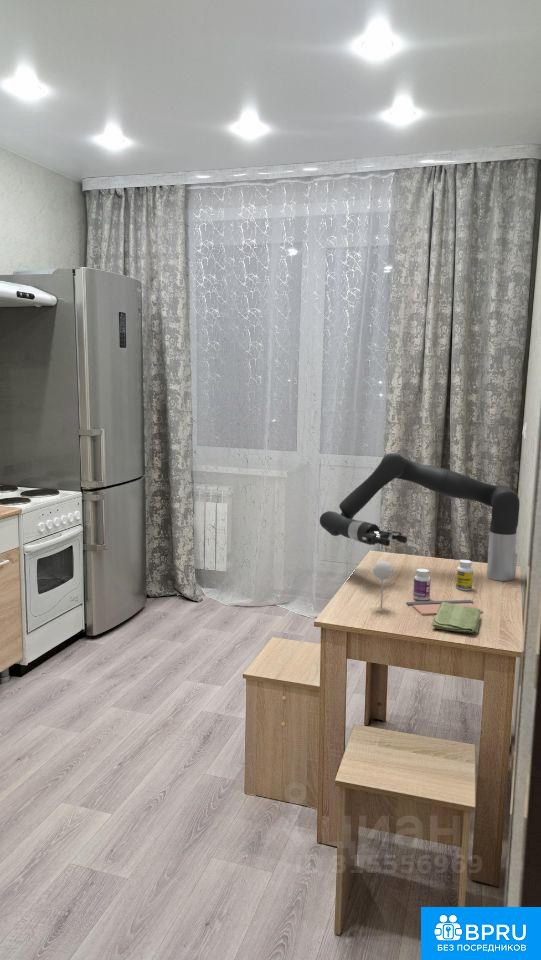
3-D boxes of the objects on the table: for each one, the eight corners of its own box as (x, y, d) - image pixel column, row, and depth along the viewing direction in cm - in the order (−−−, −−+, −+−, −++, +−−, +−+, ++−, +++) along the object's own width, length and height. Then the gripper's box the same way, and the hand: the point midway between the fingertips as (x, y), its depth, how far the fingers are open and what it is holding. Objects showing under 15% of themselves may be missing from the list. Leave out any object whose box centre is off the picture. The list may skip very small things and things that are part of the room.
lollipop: (392, 605, 220) (394, 559, 218) (389, 611, 214) (391, 564, 212) (373, 602, 222) (375, 557, 220) (370, 608, 216) (371, 562, 214)
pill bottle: (429, 601, 224) (431, 573, 223) (413, 600, 225) (414, 571, 224) (429, 596, 230) (430, 568, 228) (413, 595, 231) (414, 567, 229)
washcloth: (430, 629, 199) (431, 619, 198) (439, 609, 215) (440, 599, 214) (477, 637, 194) (478, 626, 193) (482, 616, 210) (483, 606, 209)
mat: (470, 601, 225) (470, 599, 225) (485, 613, 214) (486, 611, 214) (406, 603, 222) (406, 602, 221) (418, 615, 211) (418, 613, 211)
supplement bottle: (454, 589, 238) (456, 562, 236) (456, 585, 243) (458, 558, 241) (471, 591, 236) (472, 564, 234) (472, 587, 241) (474, 560, 239)
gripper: (349, 524, 241) (384, 533, 229) (378, 519, 250) (412, 528, 237) (348, 544, 243) (382, 555, 230) (376, 539, 251) (411, 549, 239)
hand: (397, 541), depth 234 cm, fingers open, 8 cm apart
